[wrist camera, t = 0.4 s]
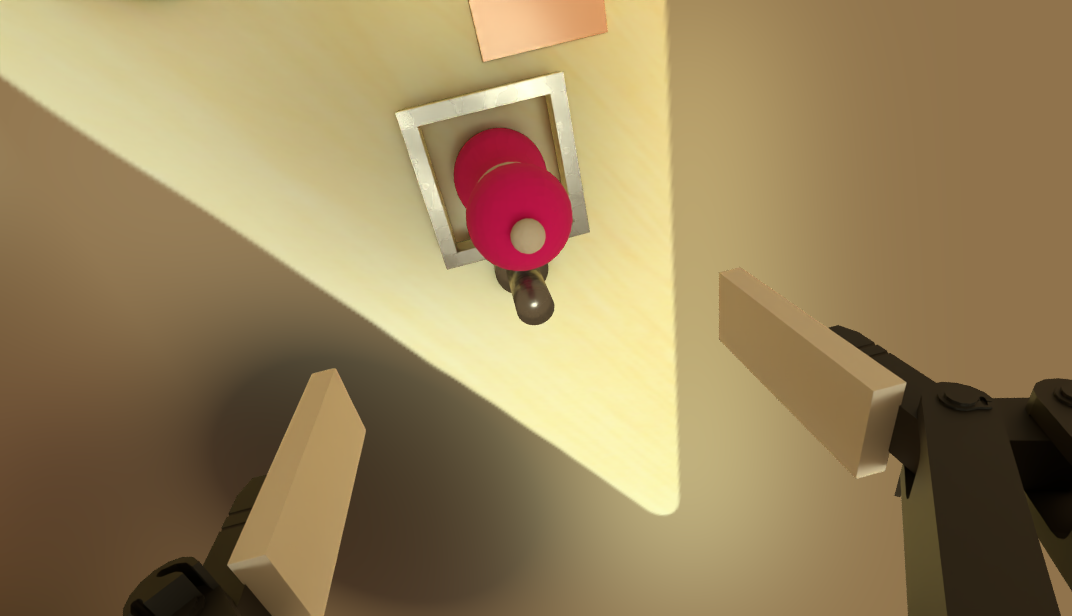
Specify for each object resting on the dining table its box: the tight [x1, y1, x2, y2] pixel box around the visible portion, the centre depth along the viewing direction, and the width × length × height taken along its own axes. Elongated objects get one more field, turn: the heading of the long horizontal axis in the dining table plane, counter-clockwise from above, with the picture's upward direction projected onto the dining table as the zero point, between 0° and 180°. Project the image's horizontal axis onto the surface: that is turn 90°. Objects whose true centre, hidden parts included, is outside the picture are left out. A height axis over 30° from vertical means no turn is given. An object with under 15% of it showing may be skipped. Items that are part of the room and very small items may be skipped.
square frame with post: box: [395, 72, 590, 325], centre depth 38 cm, size 18×12×9 cm
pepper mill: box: [454, 128, 573, 271], centre depth 32 cm, size 7×7×20 cm
